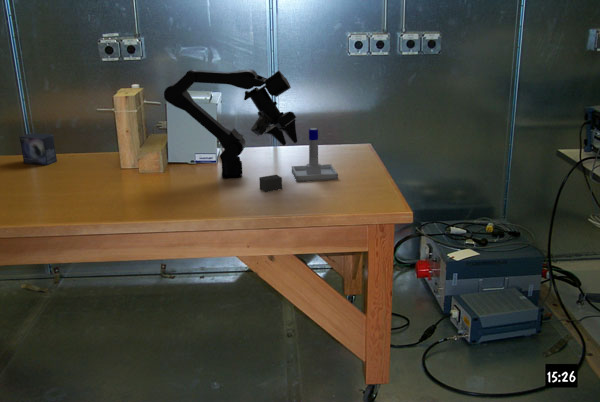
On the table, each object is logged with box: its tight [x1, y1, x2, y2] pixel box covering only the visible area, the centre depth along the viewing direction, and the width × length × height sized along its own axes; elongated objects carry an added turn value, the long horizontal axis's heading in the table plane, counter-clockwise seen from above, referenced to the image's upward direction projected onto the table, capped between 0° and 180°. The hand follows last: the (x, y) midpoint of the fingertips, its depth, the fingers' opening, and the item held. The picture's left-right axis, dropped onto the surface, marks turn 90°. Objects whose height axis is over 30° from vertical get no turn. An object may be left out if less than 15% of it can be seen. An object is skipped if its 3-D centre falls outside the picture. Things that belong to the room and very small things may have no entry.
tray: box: [291, 163, 339, 182], centre depth 213 cm, size 14×12×2 cm
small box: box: [19, 132, 58, 166], centre depth 232 cm, size 11×6×10 cm, turn 73°
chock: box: [259, 174, 283, 193], centre depth 199 cm, size 6×4×4 cm, turn 118°
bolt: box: [305, 127, 322, 175], centre depth 211 cm, size 16×5×5 cm
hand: (290, 143), depth 209 cm, fingers open, 9 cm apart
